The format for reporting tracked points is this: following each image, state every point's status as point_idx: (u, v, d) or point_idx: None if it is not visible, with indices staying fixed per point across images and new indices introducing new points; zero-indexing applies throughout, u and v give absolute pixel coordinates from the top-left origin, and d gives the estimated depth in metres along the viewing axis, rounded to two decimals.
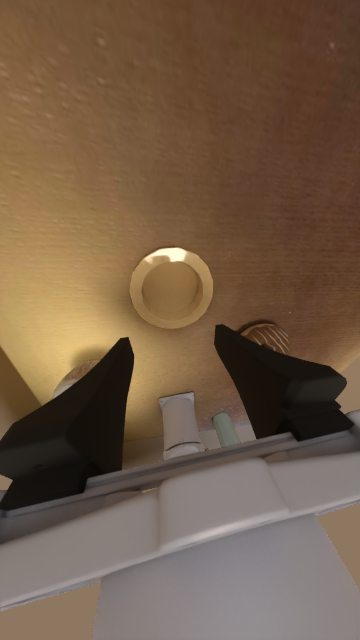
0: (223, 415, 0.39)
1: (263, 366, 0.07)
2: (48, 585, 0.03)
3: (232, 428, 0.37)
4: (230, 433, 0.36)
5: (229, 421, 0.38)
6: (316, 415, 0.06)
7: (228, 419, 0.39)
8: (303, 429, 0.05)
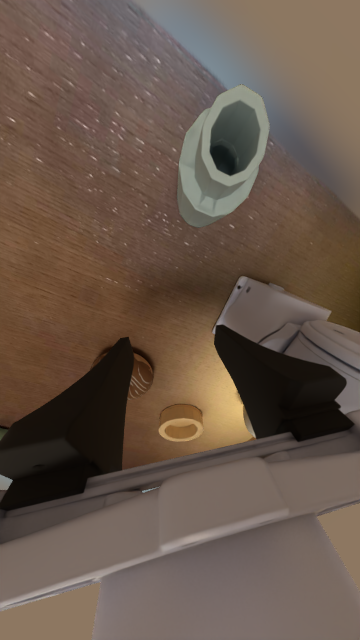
0: (190, 224, 0.16)
1: (264, 366, 0.07)
2: (48, 585, 0.03)
3: (184, 209, 0.12)
4: (195, 217, 0.12)
5: (182, 212, 0.14)
6: (316, 415, 0.06)
7: (183, 215, 0.14)
8: (303, 429, 0.05)
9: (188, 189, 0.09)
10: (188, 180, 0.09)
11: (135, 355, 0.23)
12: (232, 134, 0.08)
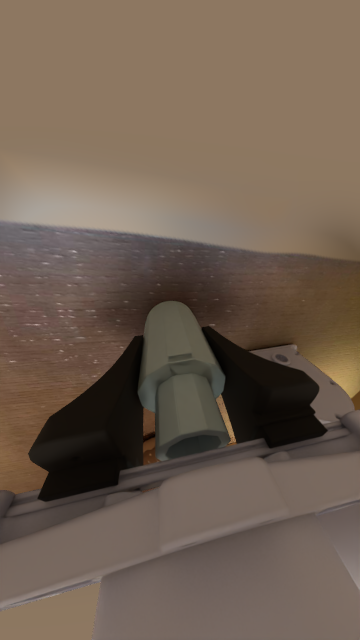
0: None
1: (239, 370, 0.06)
2: (48, 584, 0.03)
3: None
4: None
5: None
6: (290, 421, 0.06)
7: None
8: (275, 435, 0.05)
9: None
10: None
11: None
12: None
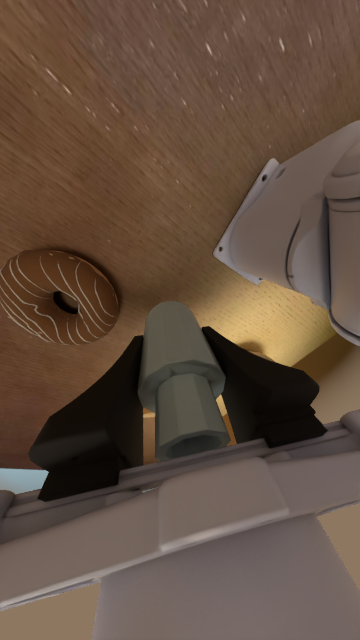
0: None
1: (239, 370, 0.06)
2: (48, 584, 0.03)
3: None
4: None
5: None
6: (290, 421, 0.06)
7: None
8: (275, 435, 0.05)
9: None
10: None
11: (92, 266, 0.14)
12: None
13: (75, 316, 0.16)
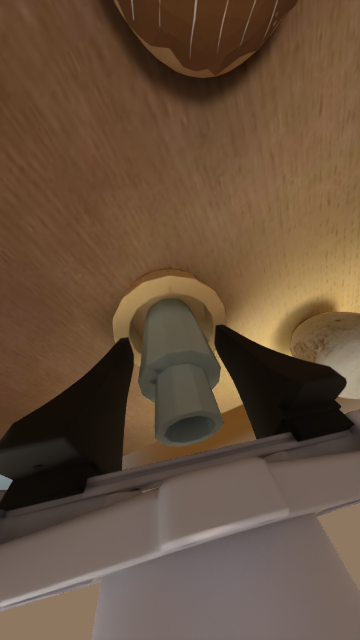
0: None
1: (263, 366, 0.07)
2: (48, 585, 0.03)
3: None
4: None
5: None
6: (316, 415, 0.06)
7: None
8: (303, 429, 0.05)
9: None
10: None
11: None
12: None
13: None
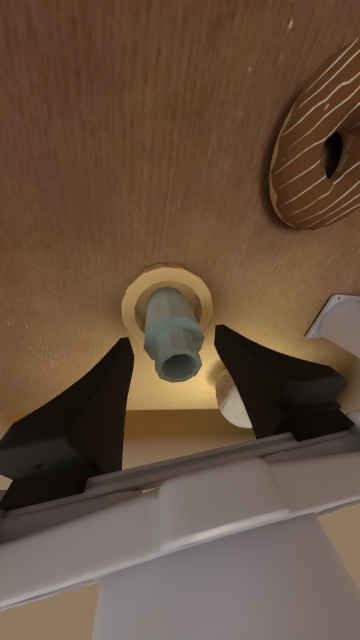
0: None
1: (263, 366, 0.07)
2: (48, 584, 0.03)
3: None
4: None
5: None
6: (316, 415, 0.06)
7: None
8: (303, 429, 0.05)
9: (148, 348, 0.11)
10: (149, 345, 0.11)
11: None
12: None
13: None
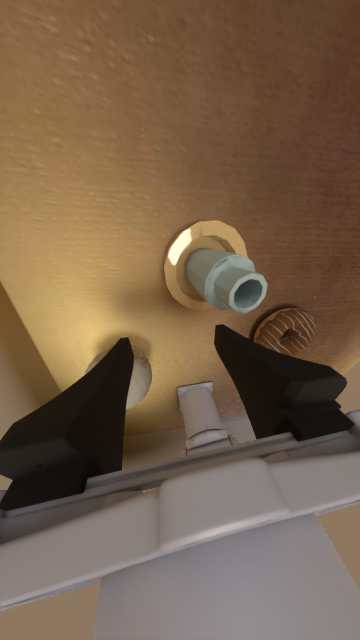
0: (189, 258, 0.17)
1: (264, 366, 0.07)
2: (48, 584, 0.03)
3: (206, 253, 0.14)
4: (200, 264, 0.14)
5: (201, 251, 0.16)
6: (316, 415, 0.06)
7: (198, 252, 0.16)
8: (303, 429, 0.05)
9: (227, 260, 0.11)
10: (232, 261, 0.11)
11: None
12: (243, 292, 0.12)
13: None
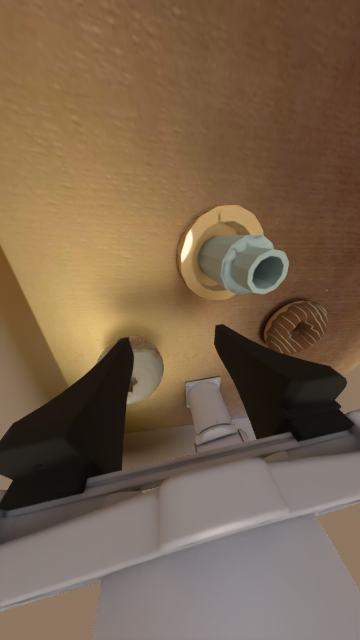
0: (203, 245, 0.17)
1: (264, 366, 0.07)
2: (47, 585, 0.03)
3: (222, 238, 0.14)
4: (217, 247, 0.13)
5: (216, 237, 0.16)
6: (316, 415, 0.06)
7: (213, 239, 0.16)
8: (303, 429, 0.05)
9: (245, 240, 0.11)
10: (251, 241, 0.11)
11: None
12: (261, 275, 0.12)
13: None
